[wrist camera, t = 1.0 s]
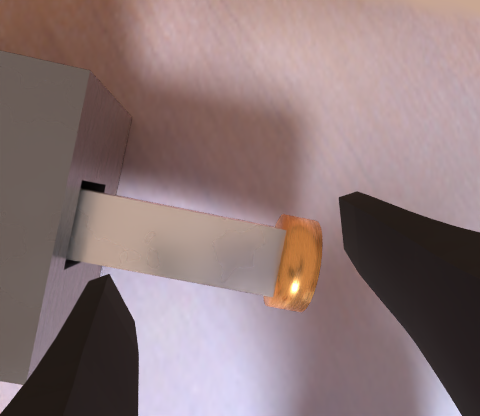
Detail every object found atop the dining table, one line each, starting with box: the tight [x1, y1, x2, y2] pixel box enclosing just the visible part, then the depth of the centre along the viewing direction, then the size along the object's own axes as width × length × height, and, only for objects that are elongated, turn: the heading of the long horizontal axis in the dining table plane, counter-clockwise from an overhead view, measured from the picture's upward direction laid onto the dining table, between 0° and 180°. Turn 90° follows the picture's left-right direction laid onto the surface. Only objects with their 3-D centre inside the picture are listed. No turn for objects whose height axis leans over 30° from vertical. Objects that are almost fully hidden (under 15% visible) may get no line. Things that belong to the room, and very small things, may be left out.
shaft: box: [66, 188, 322, 312], centre depth 19 cm, size 14×4×4 cm, turn 78°
